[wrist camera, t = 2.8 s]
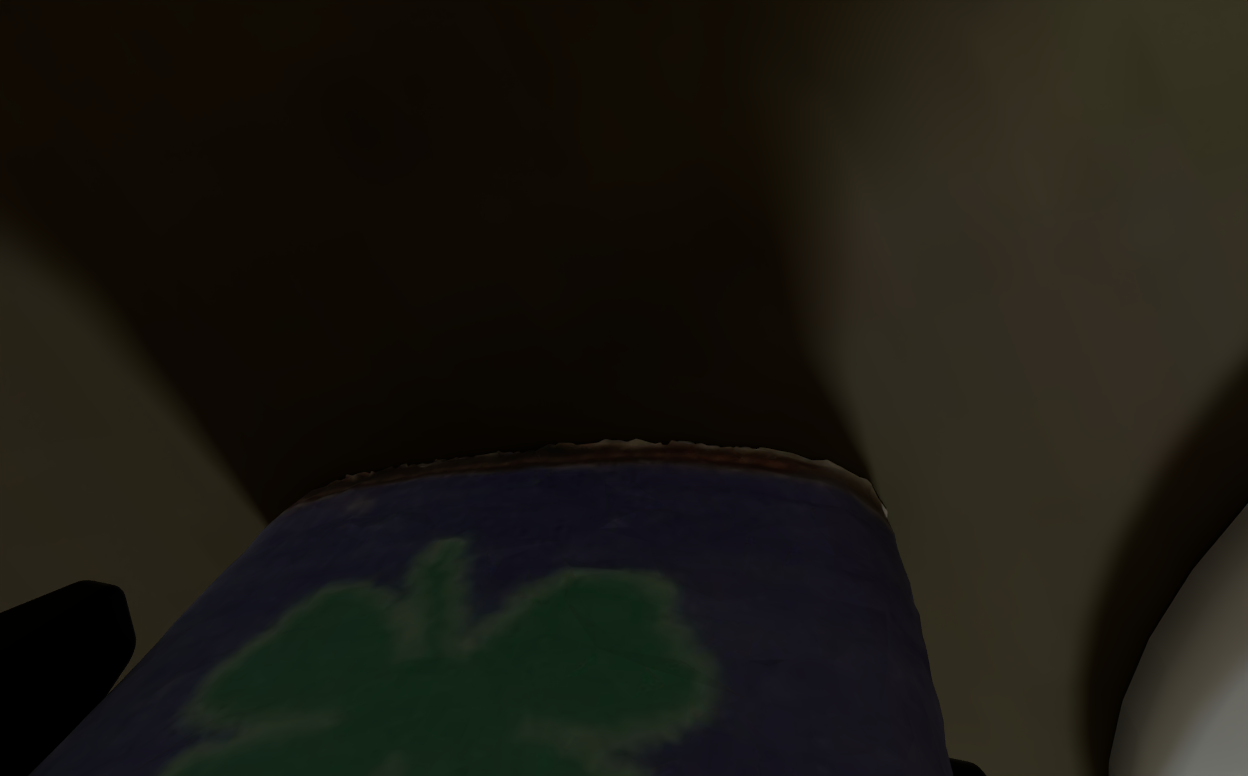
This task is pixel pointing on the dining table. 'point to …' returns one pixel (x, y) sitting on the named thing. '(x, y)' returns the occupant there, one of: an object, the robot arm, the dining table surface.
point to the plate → (1193, 675)
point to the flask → (545, 629)
